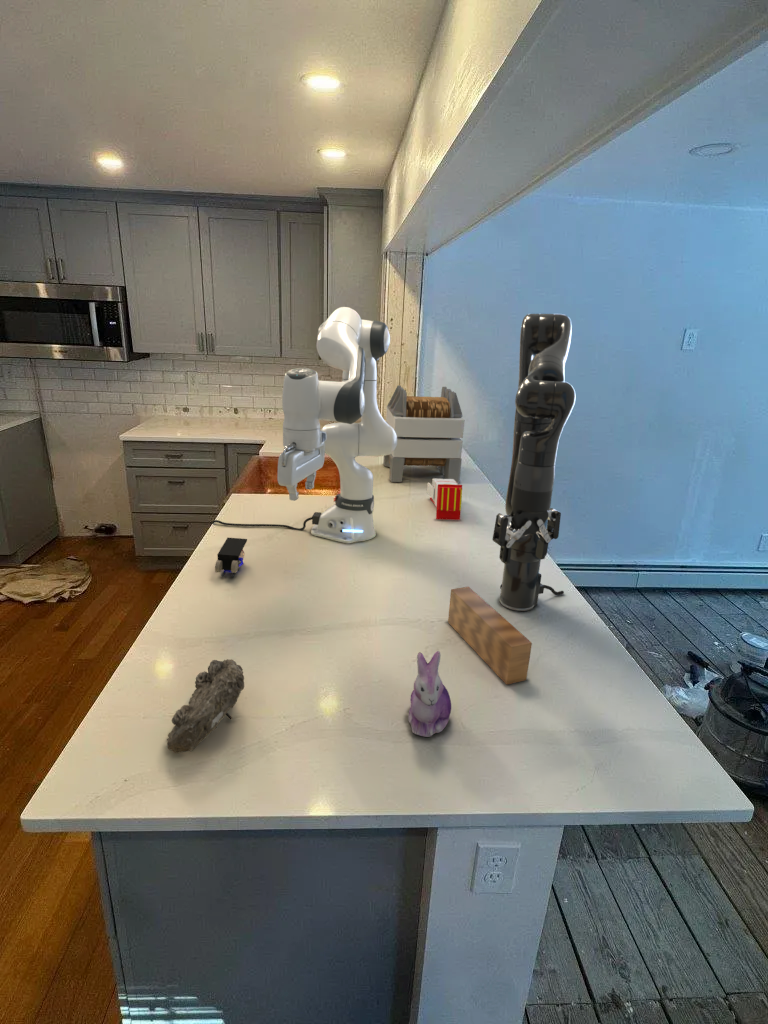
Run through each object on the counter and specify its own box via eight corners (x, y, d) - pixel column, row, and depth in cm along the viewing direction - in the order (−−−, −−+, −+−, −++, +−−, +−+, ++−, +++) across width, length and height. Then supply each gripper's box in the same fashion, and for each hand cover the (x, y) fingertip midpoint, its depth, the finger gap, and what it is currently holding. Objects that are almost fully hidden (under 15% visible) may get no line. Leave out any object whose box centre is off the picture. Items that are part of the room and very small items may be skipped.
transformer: (382, 463, 289) (386, 382, 275) (445, 464, 293) (451, 384, 279) (390, 482, 257) (394, 392, 243) (460, 483, 261) (468, 394, 247)
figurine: (421, 746, 103) (427, 677, 98) (394, 712, 111) (398, 646, 106) (464, 731, 107) (471, 664, 102) (435, 699, 116) (441, 635, 110)
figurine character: (238, 584, 162) (249, 557, 175) (236, 562, 158) (247, 536, 172) (215, 584, 161) (227, 556, 175) (212, 561, 158) (225, 535, 171)
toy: (454, 474, 240) (466, 486, 210) (452, 505, 242) (464, 521, 213) (426, 473, 239) (434, 485, 210) (424, 504, 242) (432, 520, 212)
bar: (447, 622, 145) (450, 589, 141) (465, 619, 147) (468, 586, 143) (506, 684, 121) (511, 646, 118) (526, 680, 123) (532, 642, 120)
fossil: (192, 660, 117) (244, 628, 112) (224, 691, 120) (276, 661, 115) (142, 746, 98) (202, 712, 93) (182, 779, 101) (242, 748, 96)
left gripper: (295, 449, 125) (296, 508, 130) (329, 432, 144) (328, 484, 148) (269, 446, 127) (271, 505, 131) (306, 429, 145) (306, 481, 150)
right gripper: (513, 493, 105) (503, 572, 110) (575, 487, 110) (562, 563, 115) (491, 481, 111) (483, 557, 117) (551, 476, 116) (540, 549, 122)
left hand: (302, 494), depth 140 cm, fingers open, 8 cm apart
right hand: (522, 560), depth 116 cm, fingers open, 8 cm apart
